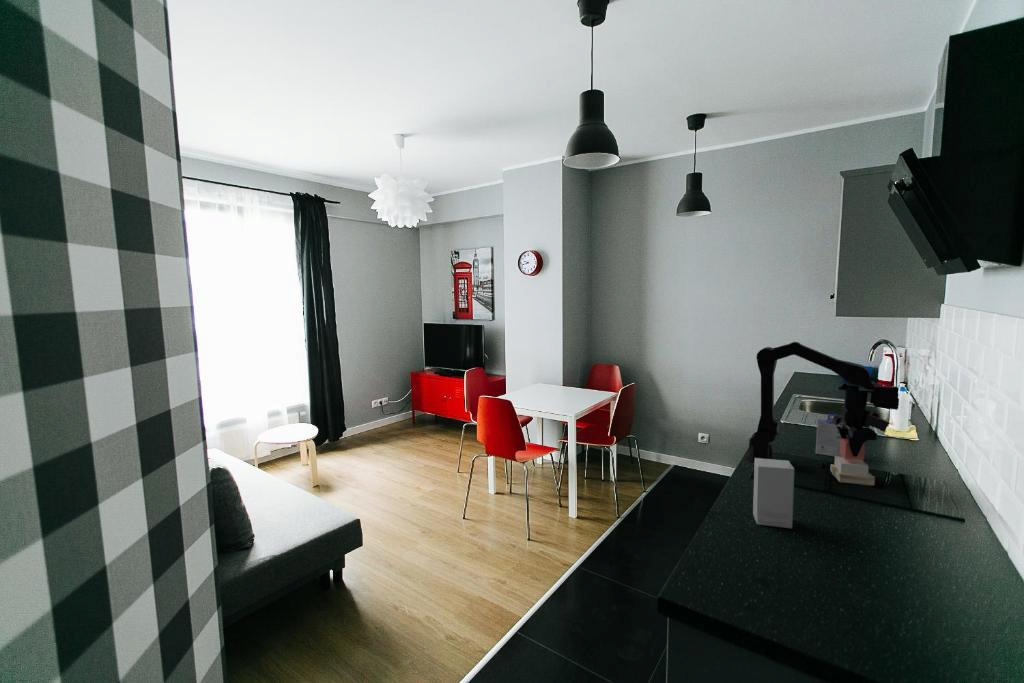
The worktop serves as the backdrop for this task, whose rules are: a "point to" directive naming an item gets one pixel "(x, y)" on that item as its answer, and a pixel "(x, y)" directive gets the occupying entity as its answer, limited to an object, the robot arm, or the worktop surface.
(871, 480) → the tower base
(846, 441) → the red cube
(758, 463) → the skincare box
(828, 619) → the worktop surface
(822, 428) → the ink cartridge box
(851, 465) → the tower top
